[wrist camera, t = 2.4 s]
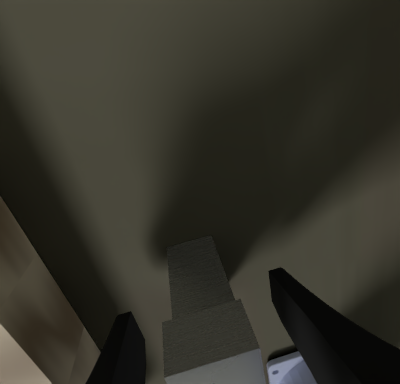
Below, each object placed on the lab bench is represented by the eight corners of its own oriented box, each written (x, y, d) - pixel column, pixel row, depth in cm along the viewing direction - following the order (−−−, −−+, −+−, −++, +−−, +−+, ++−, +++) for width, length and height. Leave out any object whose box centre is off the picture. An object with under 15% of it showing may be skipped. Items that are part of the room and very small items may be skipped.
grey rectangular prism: (227, 305, 15) (278, 461, 9) (190, 316, 15) (216, 483, 9) (205, 210, 12) (260, 348, 6) (158, 223, 12) (164, 378, 6)
